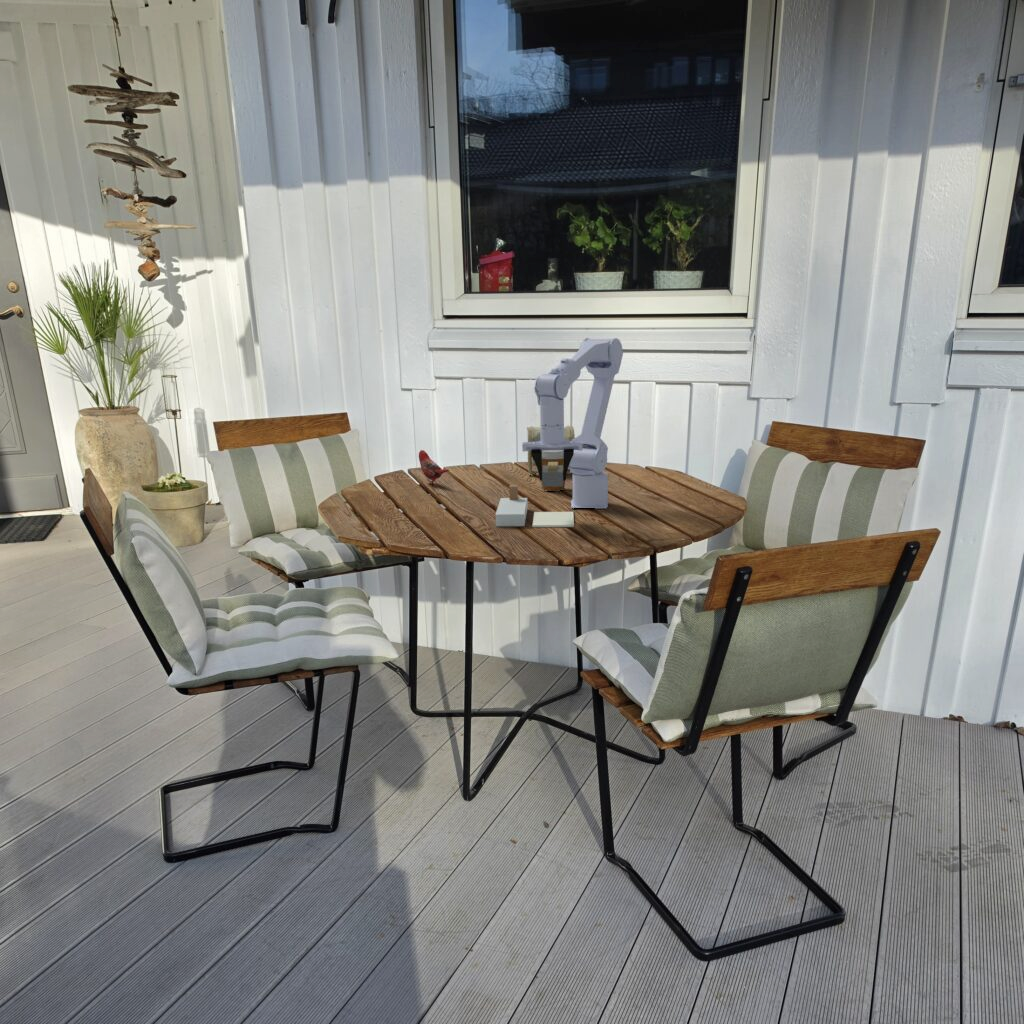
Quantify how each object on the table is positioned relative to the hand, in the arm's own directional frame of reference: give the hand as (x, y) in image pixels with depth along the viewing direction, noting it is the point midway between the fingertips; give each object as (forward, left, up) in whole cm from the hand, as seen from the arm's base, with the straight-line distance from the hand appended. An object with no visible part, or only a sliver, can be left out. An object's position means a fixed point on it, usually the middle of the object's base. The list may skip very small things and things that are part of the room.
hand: (552, 479), depth 184 cm
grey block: (0, 0, -1) cm, 1 cm away
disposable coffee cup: (+1, -32, -11) cm, 34 cm away
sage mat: (0, 0, -10) cm, 10 cm away
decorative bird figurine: (+37, -39, -11) cm, 54 cm away
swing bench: (+2, -55, -11) cm, 56 cm away
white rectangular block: (+11, -3, -10) cm, 15 cm away
